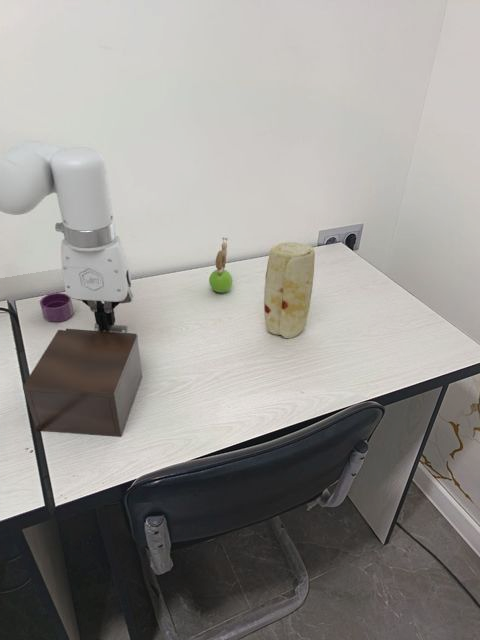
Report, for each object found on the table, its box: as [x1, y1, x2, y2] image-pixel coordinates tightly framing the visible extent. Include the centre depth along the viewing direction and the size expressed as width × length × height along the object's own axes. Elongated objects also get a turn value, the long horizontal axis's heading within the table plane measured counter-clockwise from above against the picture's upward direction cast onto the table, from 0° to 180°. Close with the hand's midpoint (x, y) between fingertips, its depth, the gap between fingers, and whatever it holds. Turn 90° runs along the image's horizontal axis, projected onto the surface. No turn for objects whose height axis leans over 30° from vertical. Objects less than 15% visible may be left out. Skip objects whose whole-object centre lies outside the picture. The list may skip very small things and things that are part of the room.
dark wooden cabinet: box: [22, 329, 143, 438], centre depth 82 cm, size 15×14×10 cm
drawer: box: [65, 322, 138, 336], centre depth 86 cm, size 19×12×8 cm, turn 178°
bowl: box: [39, 292, 74, 323], centre depth 104 cm, size 6×6×4 cm
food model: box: [263, 241, 316, 339], centre depth 99 cm, size 10×7×20 cm
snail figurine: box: [208, 236, 234, 294], centre depth 113 cm, size 5×6×12 cm
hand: (106, 326), depth 89 cm, fingers closed
